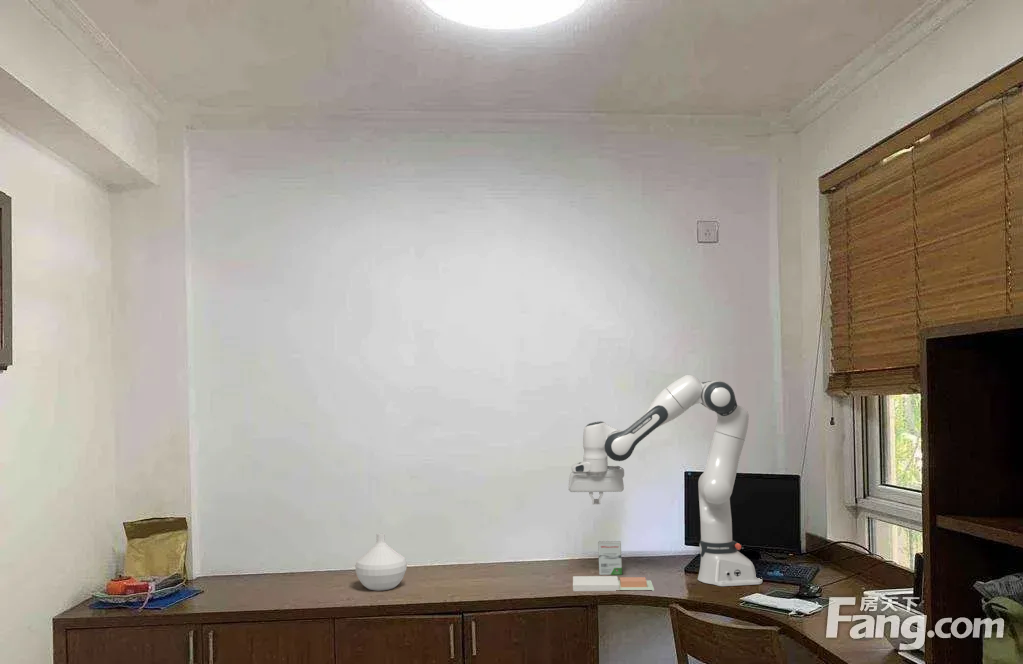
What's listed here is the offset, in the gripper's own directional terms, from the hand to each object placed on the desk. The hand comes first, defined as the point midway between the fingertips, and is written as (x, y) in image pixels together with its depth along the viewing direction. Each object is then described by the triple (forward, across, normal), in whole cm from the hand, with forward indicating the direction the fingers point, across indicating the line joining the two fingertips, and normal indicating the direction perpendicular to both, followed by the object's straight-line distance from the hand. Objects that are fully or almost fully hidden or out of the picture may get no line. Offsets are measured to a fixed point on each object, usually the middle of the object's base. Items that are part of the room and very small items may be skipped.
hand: (596, 504), depth 317 cm
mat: (+27, -13, +9) cm, 32 cm away
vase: (+28, +78, +8) cm, 83 cm away
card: (+27, -12, +10) cm, 31 cm away
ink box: (+28, -5, -10) cm, 30 cm away
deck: (+28, +1, +9) cm, 29 cm away
